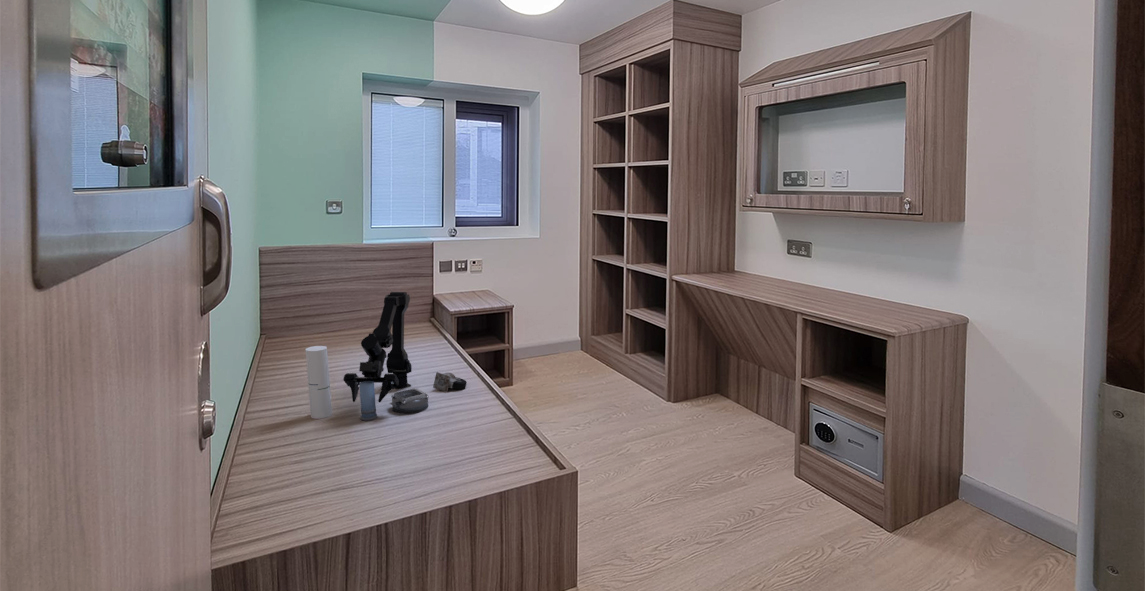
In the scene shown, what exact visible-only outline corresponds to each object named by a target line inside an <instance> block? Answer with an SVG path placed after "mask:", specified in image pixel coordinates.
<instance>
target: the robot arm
mask: <svg viewBox="0 0 1145 591" xmlns="http://www.w3.org/2000/svg"><path fill="white" fill-rule="evenodd" d="M410 301H411V298H410V294H408V293H407V291H391V292H389V294H386V295H385V296H384V300H383V304H384V305H383V308H382V311H381V315H380V318H379V321H378V322H379V323H378V325H377V326H376V327H375V328H373V330H372V333H371V332H370V333H368V335H367V336H365V337H364V338H363V339H362V340H361V341H360V346H361V347H362V349H363V351H364V353H365V354H366V355H367V356H368V358H367V359H368V360H367V361H365V362H359V369H358V371H359V372H361V375H362V376H358V374H357V373H353V372H352V373H351V372H350V373H346V374H344V375H343V379H342V380H343V381H344V383H345V384H346V385H347V386H348V387H349V388H350V390H351V397H352V402H353V403H355V402H356V400H357V397H358V394H359V391H360V388H359V383H361V382H364V381H373V382H374V384H376V383H378V384H379V383H380V384H381V388H380V392H379V395H378V400H377V401H378V403H381V402H382V401H383V399H384V398H385V397H386V396H387V395H388V393H389V392H391V391H392V390H394V389H395V390H399V389H404V388H408V387H412V384H409V383H408V374H410V373H412V371H413V370H412V368H413V367H412V366H413V365H412V363H411V362H410V360H409V356H408V353H407V352H406V350H405V345H404V344H405V313H406V311H407V310H408V309H409V304H410ZM390 347H391V349H390V351H389V352H388V353H387V352H386V350H385V349H389V348H390ZM385 360H386V362H385ZM384 365H386V369H387V373H385V374H384V375H383V376H382V373H383V372H384V370H385V368H384Z"/></svg>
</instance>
